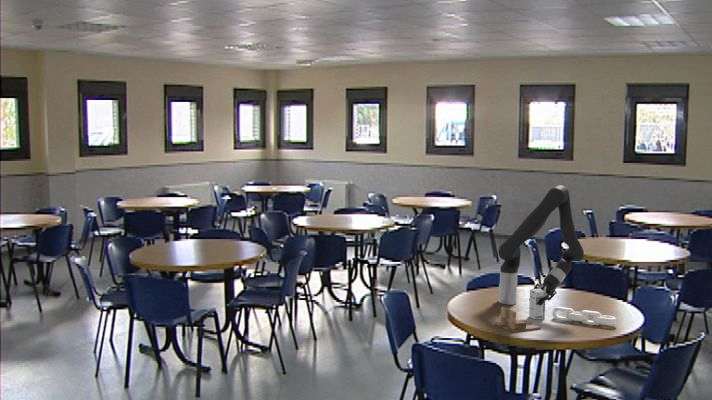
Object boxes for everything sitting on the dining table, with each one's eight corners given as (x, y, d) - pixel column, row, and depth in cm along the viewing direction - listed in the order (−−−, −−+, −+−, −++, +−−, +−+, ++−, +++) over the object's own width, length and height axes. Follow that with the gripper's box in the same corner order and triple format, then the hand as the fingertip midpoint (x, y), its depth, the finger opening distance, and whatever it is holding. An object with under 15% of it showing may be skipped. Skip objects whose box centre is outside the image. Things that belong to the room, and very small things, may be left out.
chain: (551, 319, 347) (551, 307, 346) (553, 317, 352) (554, 305, 351) (614, 328, 333) (615, 316, 333) (616, 325, 339) (617, 313, 338)
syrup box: (534, 319, 345) (535, 291, 344) (528, 316, 351) (529, 288, 350) (544, 319, 347) (546, 290, 345) (538, 316, 353) (540, 288, 351)
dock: (495, 324, 336) (495, 306, 335) (522, 321, 342) (523, 303, 341) (512, 332, 323) (513, 313, 322) (540, 329, 329) (541, 310, 328)
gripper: (541, 270, 356) (521, 294, 353) (560, 276, 343) (539, 301, 340) (549, 280, 359) (529, 304, 355) (568, 286, 346) (547, 311, 342)
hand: (534, 302), depth 348 cm, fingers closed on syrup box, 6 cm apart
